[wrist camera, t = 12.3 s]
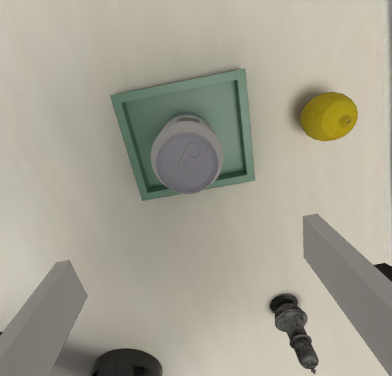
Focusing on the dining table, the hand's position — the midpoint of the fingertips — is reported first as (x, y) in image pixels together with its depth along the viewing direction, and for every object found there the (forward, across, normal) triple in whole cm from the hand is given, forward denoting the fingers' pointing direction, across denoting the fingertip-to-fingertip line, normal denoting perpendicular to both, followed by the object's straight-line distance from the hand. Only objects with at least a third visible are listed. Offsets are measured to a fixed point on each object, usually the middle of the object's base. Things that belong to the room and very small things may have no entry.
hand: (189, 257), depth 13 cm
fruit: (+22, +18, +3) cm, 28 cm away
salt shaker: (+22, +12, -32) cm, 41 cm away
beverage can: (+21, +1, +3) cm, 21 cm away
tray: (+22, +1, +3) cm, 22 cm away
